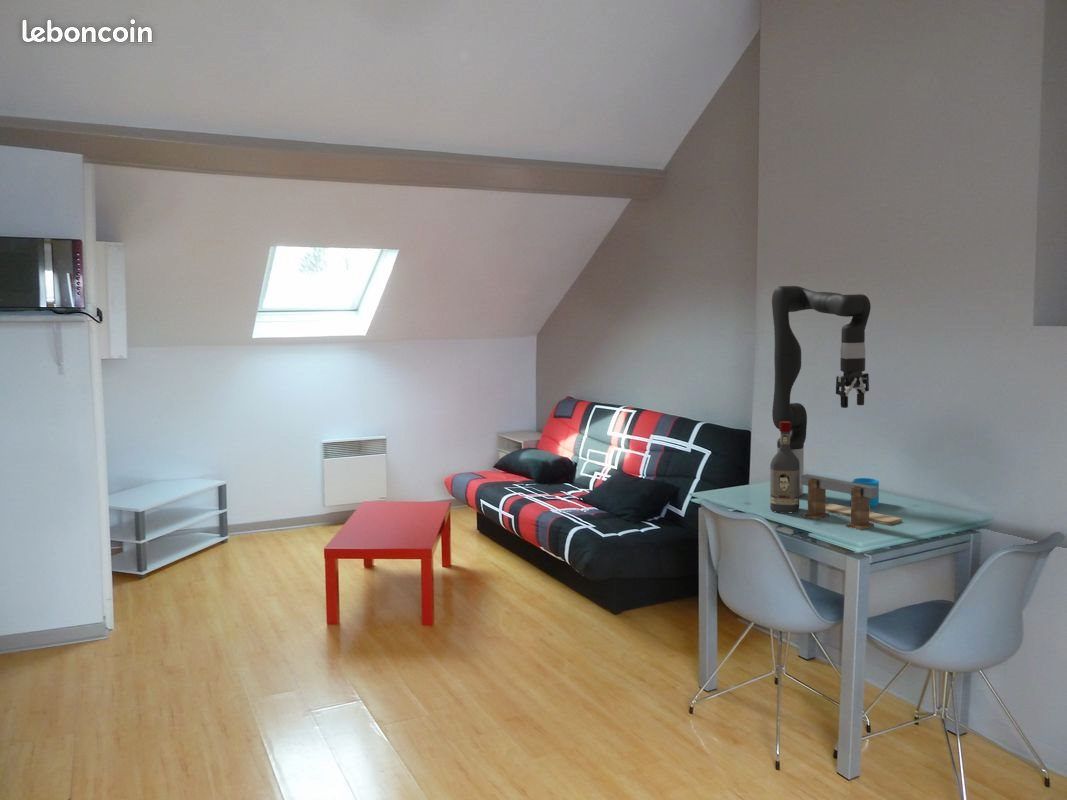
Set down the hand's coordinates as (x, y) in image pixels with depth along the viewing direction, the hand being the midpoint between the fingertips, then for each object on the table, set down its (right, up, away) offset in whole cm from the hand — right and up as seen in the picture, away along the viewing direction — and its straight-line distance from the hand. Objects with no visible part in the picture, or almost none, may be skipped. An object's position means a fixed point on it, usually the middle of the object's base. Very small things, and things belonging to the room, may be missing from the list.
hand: (852, 406), depth 269 cm
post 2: (-2, -37, -12) cm, 39 cm away
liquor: (-19, -35, +10) cm, 41 cm away
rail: (-7, -27, -7) cm, 28 cm away
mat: (+2, -36, 0) cm, 36 cm away
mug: (+10, -34, +17) cm, 39 cm away
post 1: (-11, -36, +1) cm, 38 cm away
